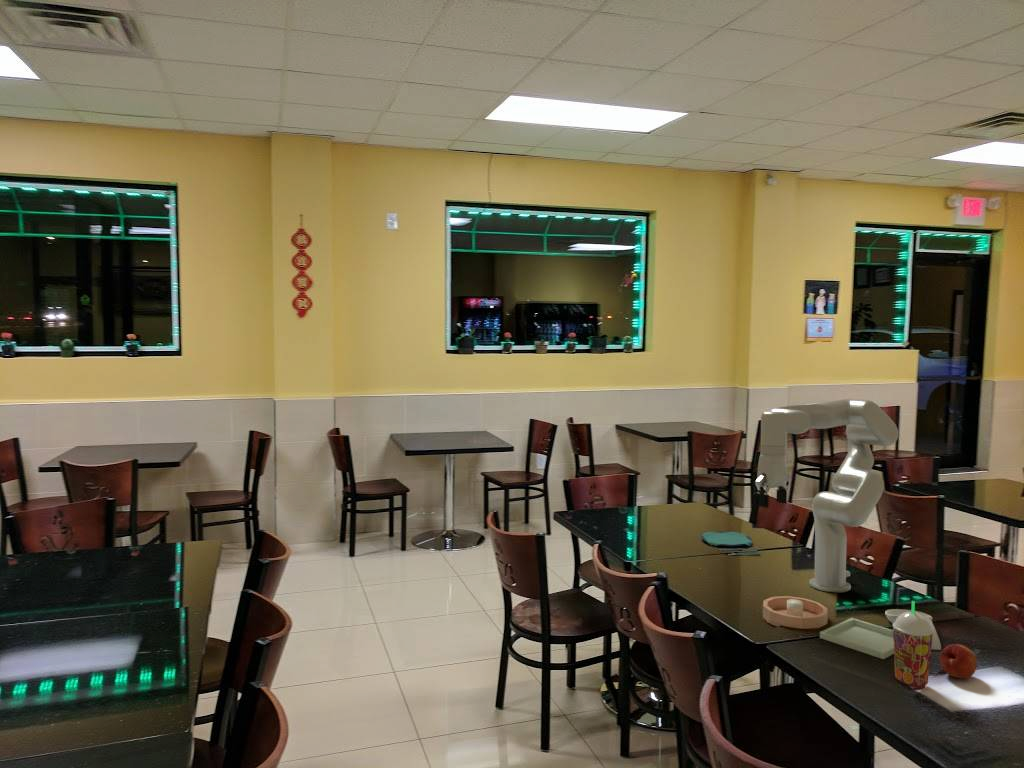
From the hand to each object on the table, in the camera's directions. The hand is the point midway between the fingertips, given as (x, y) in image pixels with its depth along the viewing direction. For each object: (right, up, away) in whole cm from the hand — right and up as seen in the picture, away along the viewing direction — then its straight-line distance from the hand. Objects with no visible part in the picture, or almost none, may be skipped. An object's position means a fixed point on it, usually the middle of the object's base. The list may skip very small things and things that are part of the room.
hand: (772, 504), depth 224 cm
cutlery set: (+6, -28, +64) cm, 70 cm away
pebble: (+1, -30, -16) cm, 34 cm away
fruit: (+26, -33, -52) cm, 67 cm away
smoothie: (+12, -33, -56) cm, 66 cm away
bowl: (+1, -31, -16) cm, 35 cm away
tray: (+13, -32, -32) cm, 47 cm away
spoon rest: (+30, -32, -27) cm, 51 cm away
